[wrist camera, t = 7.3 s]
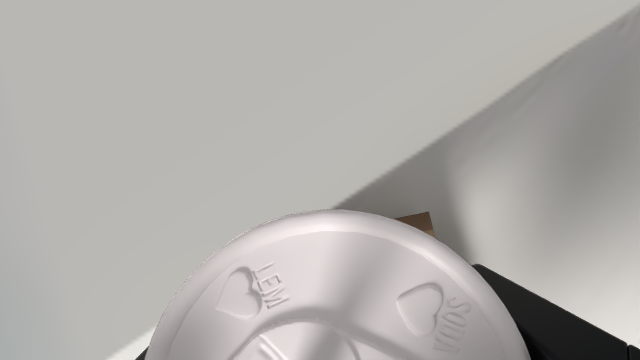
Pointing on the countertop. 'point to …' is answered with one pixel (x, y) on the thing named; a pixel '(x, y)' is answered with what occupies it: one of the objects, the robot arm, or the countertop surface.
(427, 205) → the countertop surface
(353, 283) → the smoothie
